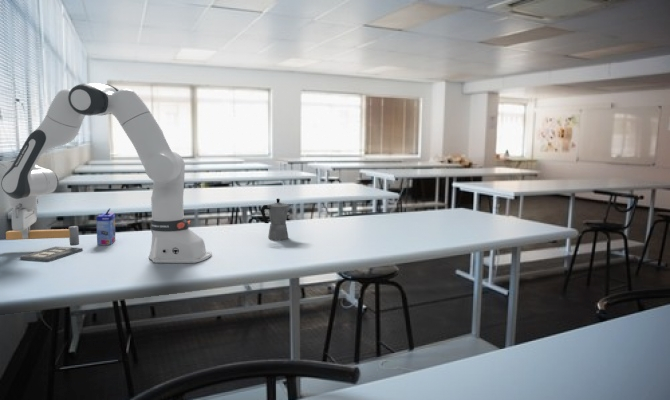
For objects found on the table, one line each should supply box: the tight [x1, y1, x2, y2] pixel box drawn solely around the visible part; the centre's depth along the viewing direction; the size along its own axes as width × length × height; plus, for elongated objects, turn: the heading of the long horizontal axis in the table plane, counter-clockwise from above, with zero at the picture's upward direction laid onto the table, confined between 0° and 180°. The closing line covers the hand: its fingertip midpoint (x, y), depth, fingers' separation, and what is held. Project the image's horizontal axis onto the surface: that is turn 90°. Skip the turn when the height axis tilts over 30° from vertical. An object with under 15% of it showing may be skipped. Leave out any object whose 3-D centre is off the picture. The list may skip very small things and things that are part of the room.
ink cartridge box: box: [95, 208, 116, 246], centre depth 186 cm, size 10×6×14 cm, turn 15°
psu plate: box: [19, 246, 84, 262], centre depth 166 cm, size 12×16×1 cm
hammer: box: [5, 225, 80, 247], centre depth 174 cm, size 3×25×7 cm, turn 103°
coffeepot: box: [260, 198, 292, 241], centre depth 198 cm, size 15×9×18 cm, turn 129°
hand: (26, 238), depth 170 cm, fingers closed
